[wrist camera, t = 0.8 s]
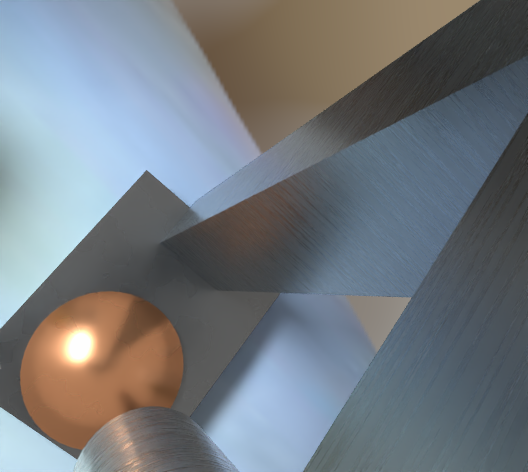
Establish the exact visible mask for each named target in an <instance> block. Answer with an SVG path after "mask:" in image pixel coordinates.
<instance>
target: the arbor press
mask: <svg viewBox="0 0 528 472" xmlns="http://www.w3.org/2000/svg"><path fill="white" fill-rule="evenodd" d="M280 293H301V294H330V295H359V296H387V297H412V298H411V300H410V302H409V303H408V305H407V306H406V308H405V310H404V311H403V313H402V314H401V316H400V318H399V319H398V321H397V322H396V324H395V325H394V327H393V329H392V330H391V332H390V334H389V335H388V337H387V338H386V340H385V341H384V343H383V345H382V346H381V348H380V349H379V351H378V353H377V354H376V356H375V357H374V359H373V361H372V362H371V364H370V365H369V367H368V369H367V370H366V372H365V373H364V375H363V377H362V378H361V380H360V381H359V383H358V385H357V386H356V388H355V389H354V391H353V393H352V394H351V396H350V397H349V399H348V401H347V402H346V404H345V405H344V407H343V409H342V410H341V412H340V413H339V415H338V417H337V418H336V420H335V421H334V423H333V424H332V426H331V428H330V429H329V431H328V432H327V434H326V436H325V437H324V439H323V440H322V442H321V444H320V445H319V447H318V448H317V450H316V452H315V453H314V455H313V456H312V458H311V460H310V461H309V463H308V464H307V466H306V468H305V469H304V471H303V472H528V0H480V1H479V2H478V3H476V4H474V5H473V6H472V7H470V8H469V9H467V10H466V11H465V12H463V13H462V14H460V15H459V16H457V17H456V18H455V19H453V20H452V21H450V22H449V23H448V24H446V25H445V26H443V27H442V28H440V29H439V30H438V31H436V32H435V33H433V34H432V35H430V36H429V37H428V38H426V39H425V40H423V41H422V42H421V43H419V44H418V45H416V46H415V47H413V48H412V49H411V50H409V51H408V52H406V53H405V54H403V55H402V56H401V57H399V58H398V59H397V60H395V61H394V62H392V63H391V64H389V65H388V66H387V67H385V68H384V69H382V70H381V71H379V72H378V73H377V74H375V75H374V76H372V77H371V78H370V79H368V80H367V81H365V82H364V83H362V84H361V85H360V86H358V87H357V88H356V89H354V90H352V91H351V92H350V93H348V94H347V95H345V96H344V97H343V98H341V99H340V100H338V101H337V102H336V103H334V104H333V105H331V106H330V107H328V108H327V109H326V110H324V111H323V112H321V113H320V114H318V115H317V116H316V117H314V118H313V119H311V120H310V121H309V122H307V123H306V124H304V125H303V126H301V127H300V128H299V129H297V130H296V131H294V132H293V133H292V134H290V135H289V136H287V137H286V138H284V139H283V140H282V141H280V142H279V143H277V144H276V145H275V146H273V147H272V148H270V149H269V150H268V151H266V152H265V153H263V154H262V155H260V156H259V157H258V158H256V159H255V160H253V161H252V162H250V163H249V164H248V165H246V166H245V167H243V168H242V169H241V170H239V171H238V172H236V173H235V174H233V175H232V176H231V177H229V178H228V179H226V180H225V181H224V182H222V183H221V184H219V185H218V186H216V187H215V188H214V189H212V190H211V191H209V192H208V193H206V194H205V195H204V196H202V197H201V198H199V199H198V200H197V201H195V203H194V204H193V205H192V206H191V207H188V206H187V205H186V204H185V203H184V202H183V201H182V200H180V199H179V198H178V197H177V196H176V195H175V194H173V193H172V192H171V191H170V190H169V189H168V188H167V187H165V186H164V185H163V184H162V183H161V182H160V181H159V180H157V179H156V178H155V177H154V176H153V175H152V174H151V173H149V172H148V171H147V170H146V172H145V173H144V174H143V175H142V176H141V177H140V178H139V179H138V180H137V181H136V182H135V183H134V185H133V186H132V187H131V188H130V189H129V190H128V191H127V192H126V193H125V194H124V195H123V196H122V198H121V199H120V200H119V201H118V202H117V203H116V204H115V205H114V206H113V207H112V208H111V210H110V211H109V212H108V213H107V214H106V215H105V216H104V217H103V218H102V219H101V220H100V221H99V223H98V224H97V225H96V226H95V227H94V228H93V229H92V230H91V231H90V232H89V233H88V234H87V236H86V237H85V238H84V239H83V240H82V241H81V242H80V243H79V244H78V245H77V246H76V248H75V249H74V250H73V251H72V252H71V253H70V254H69V255H68V256H67V257H66V258H65V259H64V261H63V262H62V263H61V264H60V265H59V266H58V267H57V268H56V269H55V270H54V271H53V273H52V274H51V275H50V276H49V277H48V278H47V279H46V280H45V281H44V282H43V283H42V284H41V286H40V287H39V288H38V289H37V290H36V291H35V292H34V293H33V294H32V295H31V296H30V297H29V299H28V300H27V301H26V302H25V303H24V304H23V305H22V306H21V307H20V308H19V309H18V311H17V312H16V313H15V314H14V315H13V316H12V317H11V318H10V319H9V320H8V321H7V322H6V324H5V325H4V326H3V327H2V328H1V329H0V367H1V369H0V407H1V408H3V409H4V410H6V411H7V412H9V413H10V414H12V415H13V416H15V417H16V418H17V419H19V420H20V421H22V422H23V423H25V424H26V425H28V426H29V427H31V428H32V429H34V430H35V431H36V432H38V433H39V434H41V435H42V436H44V437H45V438H47V439H48V440H50V441H51V442H52V443H54V444H55V445H57V446H58V447H60V448H61V449H63V450H64V451H66V452H67V453H69V454H70V455H71V456H73V457H74V458H76V459H77V462H76V465H75V467H74V471H73V472H239V470H238V469H237V468H236V467H235V466H234V465H233V464H232V462H231V461H230V460H229V459H228V458H227V457H226V456H225V455H224V453H223V452H222V451H221V450H220V449H219V448H218V447H217V445H216V444H215V443H214V442H213V441H212V440H211V439H210V437H209V436H208V435H207V434H206V433H205V432H204V431H203V430H202V428H201V427H200V426H199V425H198V424H197V423H196V422H195V421H194V420H193V419H191V418H190V416H191V415H192V413H193V412H194V411H195V409H196V408H197V406H198V405H199V404H200V402H201V401H202V400H203V398H204V397H205V395H206V394H207V393H208V391H209V390H210V389H211V387H212V386H213V385H214V383H215V382H216V380H217V379H218V378H219V376H220V375H221V374H222V372H223V371H224V369H225V368H226V367H227V365H228V364H229V363H230V361H231V360H232V359H233V357H234V356H235V354H236V353H237V352H238V350H239V349H240V348H241V346H242V345H243V343H244V342H245V341H246V339H247V338H248V337H249V335H250V334H251V332H252V331H253V330H254V328H255V327H256V326H257V324H258V323H259V322H260V320H261V319H262V317H263V316H264V315H265V313H266V312H267V311H268V309H269V308H270V306H271V305H272V304H273V302H274V301H275V300H276V298H277V297H278V296H279V294H280Z"/></svg>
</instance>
